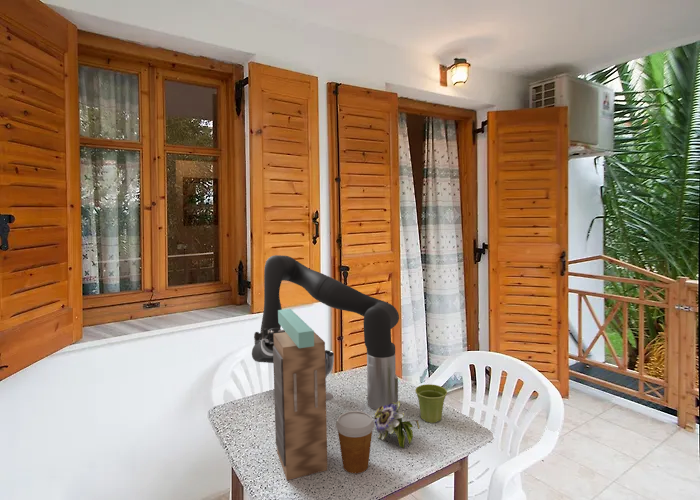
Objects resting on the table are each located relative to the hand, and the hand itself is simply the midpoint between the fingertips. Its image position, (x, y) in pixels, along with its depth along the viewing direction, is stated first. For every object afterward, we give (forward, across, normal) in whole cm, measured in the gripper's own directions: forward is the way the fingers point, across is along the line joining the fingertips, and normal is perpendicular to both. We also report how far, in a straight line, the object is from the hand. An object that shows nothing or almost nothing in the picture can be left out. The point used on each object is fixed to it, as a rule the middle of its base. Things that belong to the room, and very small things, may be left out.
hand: (281, 329), depth 120 cm
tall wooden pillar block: (+5, 0, +35) cm, 35 cm away
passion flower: (+4, +27, +35) cm, 44 cm away
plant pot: (0, +42, +32) cm, 53 cm away
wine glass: (-24, +16, +19) cm, 35 cm away
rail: (+17, 0, +5) cm, 18 cm away
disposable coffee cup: (+11, +12, +39) cm, 42 cm away
